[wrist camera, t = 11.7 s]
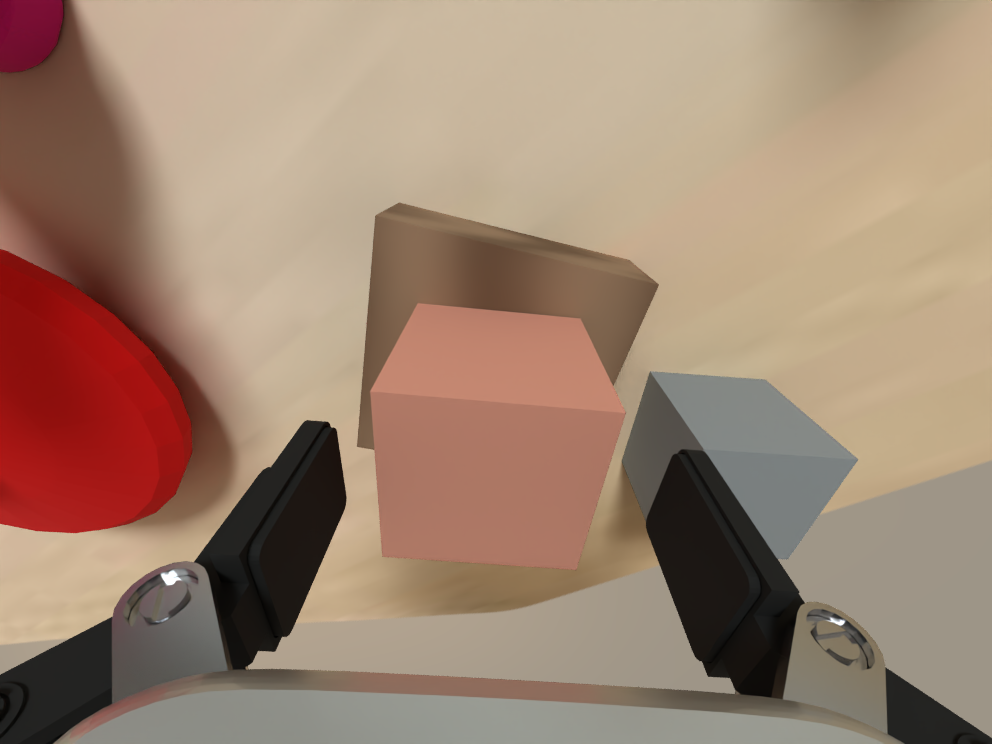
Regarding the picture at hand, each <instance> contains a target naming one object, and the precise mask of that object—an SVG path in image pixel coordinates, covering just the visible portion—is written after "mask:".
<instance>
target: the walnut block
mask: <svg viewBox="0 0 992 744" xmlns="http://www.w3.org/2000/svg"><path fill="white" fill-rule="evenodd" d="M658 286H659V284H657V283H656V282H655V281H654V280H653V279H651V278H650V277H649V276H648V275H647V274H645V273H644V272H643V271H642V270H640V269H639V268H638V267H637V266H636V265H634V264H633V263H632V262H631V261H630V260H627V259H623V258H619V257H614V256H610V255H606V254H602V253H598V252H594V251H590V250H586V249H582V248H578V247H574V246H570V245H566V244H562V243H558V242H554V241H550V240H546V239H542V238H538V237H534V236H530V235H526V234H522V233H518V232H514V231H510V230H506V229H502V228H498V227H494V226H490V225H486V224H482V223H478V222H474V221H470V220H466V219H462V218H458V217H454V216H450V215H446V214H442V213H438V212H434V211H430V210H426V209H422V208H418V207H414V206H410V205H406V204H402V203H398V204H396V205H394V206H392V207H390V208H388V209H387V210H385V211H383V212H381V213H379V214H377V215H376V216H375V228H374V240H373V253H372V265H371V278H370V291H369V303H368V316H367V328H366V341H365V353H364V366H363V378H362V391H361V404H360V416H359V429H358V441H357V447H361V448H367V449H373V450H375V449H374V436H373V422H372V409H371V396H370V391H371V389H372V387H373V385H374V383H375V382H376V380H377V378H378V376H379V374H380V372H381V370H382V369H383V367H384V365H385V363H386V361H387V359H388V357H389V356H390V354H391V352H392V350H393V348H394V346H395V345H396V343H397V341H398V339H399V337H400V335H401V333H402V332H403V330H404V328H405V326H406V324H407V322H408V320H409V319H410V317H411V315H412V313H413V311H414V309H415V308H416V306H417V304H418V303H421V304H432V305H442V306H453V307H464V308H474V309H485V310H496V311H506V312H517V313H528V314H538V315H549V316H560V317H570V318H581V321H582V323H583V325H584V327H585V329H586V331H587V333H588V335H589V337H590V339H591V341H592V343H593V346H594V348H595V350H596V352H597V354H598V356H599V358H600V360H601V362H602V364H603V366H604V368H605V370H606V373H607V375H608V377H609V379H610V381H611V383H612V385H614V383H615V381H616V379H617V377H618V374H619V372H620V370H621V368H622V365H623V363H624V361H625V359H626V357H627V354H628V352H629V350H630V348H631V346H632V343H633V341H634V339H635V337H636V334H637V332H638V330H639V328H640V326H641V323H642V321H643V319H644V317H645V315H646V312H647V310H648V308H649V306H650V303H651V301H652V299H653V297H654V295H655V292H656V290H657V288H658Z"/></svg>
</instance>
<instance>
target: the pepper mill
mask: <svg viewBox="0 0 992 744" xmlns="http://www.w3.org/2000/svg"><path fill="white" fill-rule="evenodd" d="M62 20H63V5H62V0H0V72H8V73H10V72H19V71H24V70H26V69H29V68H31V67H34V66H36V65H38V64H40V63H41V62H42V61H43V60H44V59H45V58H46V57H47V56H48V55H49V54H50V52H51V51H52V50H53V48H54V47H55V46H56V44H57V41H58V37H59V33H60V28H61V24H62Z"/></svg>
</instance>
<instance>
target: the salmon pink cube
mask: <svg viewBox="0 0 992 744" xmlns="http://www.w3.org/2000/svg"><path fill="white" fill-rule="evenodd" d="M370 396H371V409H372V422H373V436H374V449H375V463H376V476H377V490H378V503H379V516H380V530H381V543H382V557H395V558H410V559H424V560H439V561H454V562H468V563H483V564H498V565H512V566H527V567H542V568H556V569H571V570H576V569H577V566H578V563H579V560H580V557H581V553H582V550H583V547H584V544H585V541H586V538H587V534H588V531H589V528H590V525H591V522H592V519H593V515H594V512H595V509H596V506H597V503H598V500H599V497H600V493H601V490H602V487H603V484H604V481H605V478H606V474H607V471H608V468H609V465H610V462H611V459H612V455H613V452H614V449H615V446H616V443H617V440H618V436H619V433H620V430H621V427H622V424H623V421H624V417H625V414H626V412H625V410H624V408H623V406H622V404H621V402H620V400H619V398H618V395H617V393H616V391H615V389H614V387H613V385H612V383H611V381H610V379H609V377H608V375H607V373H606V370H605V368H604V366H603V364H602V362H601V360H600V358H599V356H598V354H597V352H596V350H595V348H594V346H593V343H592V341H591V339H590V337H589V335H588V333H587V331H586V329H585V327H584V325H583V323H582V321H581V318H570V317H560V316H549V315H538V314H528V313H517V312H506V311H496V310H485V309H474V308H464V307H453V306H442V305H432V304H421V303H418V304H417V306H416V308H415V309H414V311H413V313H412V315H411V317H410V319H409V320H408V322H407V324H406V326H405V328H404V330H403V332H402V333H401V335H400V337H399V339H398V341H397V343H396V345H395V346H394V348H393V350H392V352H391V354H390V356H389V357H388V359H387V361H386V363H385V365H384V367H383V369H382V370H381V372H380V374H379V376H378V378H377V380H376V382H375V383H374V385H373V387H372V389H371V391H370Z"/></svg>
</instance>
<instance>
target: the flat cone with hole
mask: <svg viewBox="0 0 992 744" xmlns="http://www.w3.org/2000/svg"><path fill="white" fill-rule="evenodd" d="M191 454H192V432H191V421H190V419H189V416H188V413H187V411H186V408H185V406H184V403H183V400H182V398H181V395H180V393H179V390H178V388H177V387H176V385H175V384H174V382H173V381H172V380H171V378H170V377H169V375H168V374H167V372H166V371H165V369H164V368H163V367H162V365H161V364H160V362H159V361H158V359H157V358H156V356H155V355H154V354H153V352H152V351H151V350H150V349H149V348H148V347H147V346H146V345H145V344H144V343H143V342H142V341H141V340H140V339H139V338H138V337H137V336H136V335H134V334H133V333H132V332H131V331H130V330H129V329H128V328H127V327H126V326H125V325H124V324H123V323H122V322H121V321H120V320H119V319H118V318H117V317H116V316H115V315H114V314H113V313H111V312H110V311H108V310H107V309H106V308H104V307H103V306H101V305H100V304H99V303H97V302H96V301H94V300H93V299H91V298H90V297H89V296H87V295H86V294H84V293H83V292H81V291H80V290H79V289H77V288H76V287H74V286H73V285H72V284H70V283H69V282H67V281H66V280H64V279H62V278H60V277H58V276H56V275H54V274H52V273H50V272H48V271H46V270H44V269H42V268H40V267H38V266H36V265H34V264H32V263H30V262H28V261H26V260H24V259H22V258H20V257H18V256H16V255H14V254H12V253H10V252H8V251H5V250H1V249H0V524H4V525H9V526H14V527H19V528H24V529H29V530H34V531H45V532H65V533H79V532H87V531H94V530H101V529H108V528H113V527H117V526H121V525H126V524H129V523H132V522H134V521H137V520H139V519H141V518H144V517H146V516H149V515H151V514H153V513H156V512H157V511H158V510H159V509H160V508H161V507H162V506H163V505H164V504H166V503H167V502H168V501H169V500H170V499H171V498H172V497H173V496H174V495H175V494H176V491H177V489H178V487H179V484H180V482H181V479H182V477H183V475H184V472H185V470H186V467H187V464H188V462H189V459H190V457H191Z"/></svg>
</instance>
